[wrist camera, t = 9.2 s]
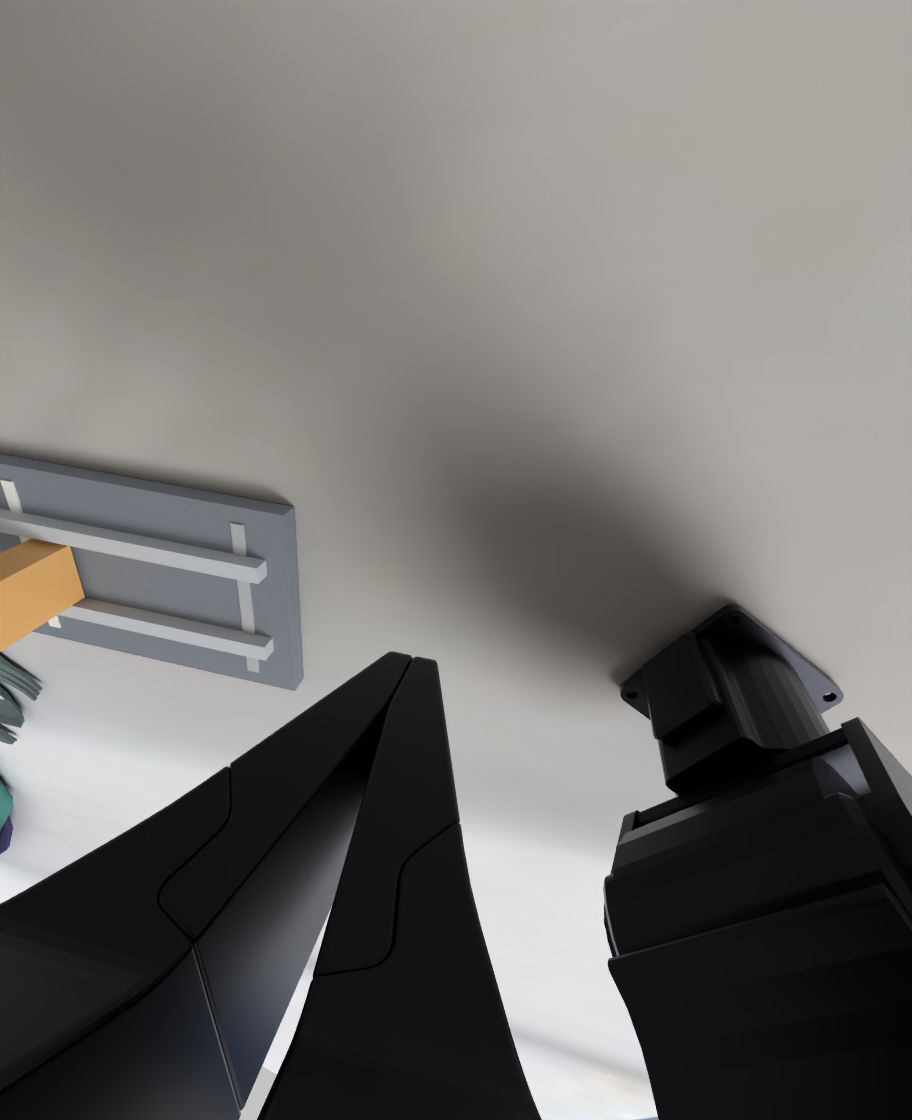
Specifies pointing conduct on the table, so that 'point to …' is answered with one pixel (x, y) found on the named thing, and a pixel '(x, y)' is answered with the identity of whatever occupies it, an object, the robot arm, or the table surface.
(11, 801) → the cutlery set
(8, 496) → the board
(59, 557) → the tan wooden bar
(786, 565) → the table surface
